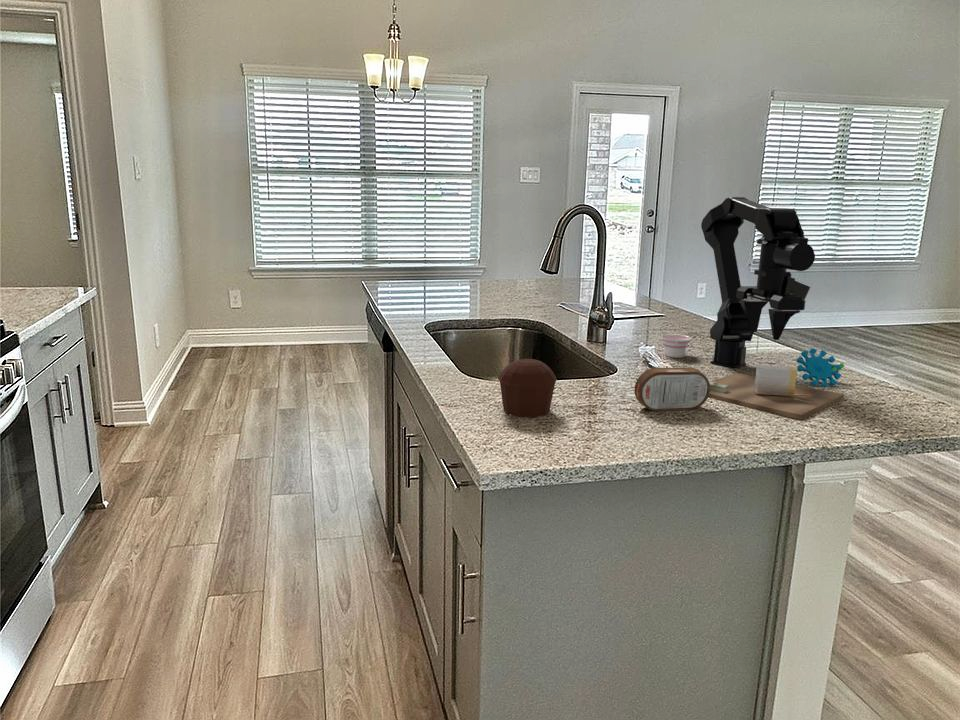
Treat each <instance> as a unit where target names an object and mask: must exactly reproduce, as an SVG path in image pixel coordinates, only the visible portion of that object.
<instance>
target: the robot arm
mask: <svg viewBox="0 0 960 720" xmlns="http://www.w3.org/2000/svg"><path fill="white" fill-rule="evenodd" d="M745 221H747V222H749V223H751V224H754V228H755V229H756V231H758V232H759V233H760V234H761V235H762V236H761V237H760V238H758V239H757V241H756V244H757V245H761V246H760V251H759V252H760V253H759V263H758V269H754V272H753V273H754V275H756V276H757V281H756V285H755V286H754V285H753V286H752V285H746V286H744V285H743V286H742V285H741V278H740V273H739V267H738V261H737V254H736V251H735V250H736V249H735V242H736V240H737V238H738V235H739V234H740V233H739V232H740V231H739V229H740V228H741V226H742V225H743V224H744V223H745ZM700 227H701V231H702V233H703V234H702V235H703V237H704V240H705V242H706V243H707V244H708V245H709V247H711V248H712V250H713V255H714V262H715V267H716V274H717V280H718V286H719V293H720V297H721V304H720V307H719V308H718V309H719V310H718V312H717V313H716V316H717V318H716V319H717V320H716V321H715V322H714V323H713V325H712V326H711V328H710V329H709V337H710V340H711V339H712V340H713V341H715V343H714V354H713V360H710V361H709V362H710V363H709V364H713V365H717V366H721V367H728V368H732V369H733V368H734V369H735V368H738V367H741V366H744V365H743V364H745V365H746V364H747V363H746V355H747V347H746V342H752V339H753V336H754V333H756V332H758V328H759V325H760V320H761V315H762V310H763V309H764V308H765V306H766V305H767V304H768V303H769V307H770V308H768V315H769V323H770V329H771V333H772V335H771V336H772V339H773V341H774V340H775V341H779V340H780V338H781V336H782V334H783V332H784V330H785V328H786V326H787V324H788V322H789V320H790V319H791V318H792V317H794V316H795V315H796V314H800V313H801V311H805V309H806V300H805V299H806V298H807V296H808V294H809V292H810V289H811V286H808V285H806V284H804V283H802V282H800V281H796V279H795V278H794V277H792V273H791V272H790V271H791V270H792V271H797V272H803V271H807V270H809V269H810V268H811V267H812V265H813V264H814V263H815V259H816V253H815V250H814V248H813V247H812V245H810V244H809V238H808V237H805V235H804V234H805V232H804V230H803V228H802V224H801V222H800V218H799V216H798V215H797V211H796V210H795V209H794V208H788V207H787V208H784V207H783V208H782V207H781V208H780V207H778V208H777V207H769V206H766V205H763V204H760V203H759V202H755V201H753V200H750V199H748V198H746V197H744V196H743V197H741V196H739V197H738V196H729V197H726V198H725V199H724V200H723V201H722V203H720V204H718V205H716V206H715V207H713V208H712V209H710V210H709V211H708V212H707V213H706V214H705V216H704V217H703V218H702V221H701V226H700ZM787 270H790V271H787Z"/></svg>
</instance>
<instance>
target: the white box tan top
mask: <svg viewBox="0 0 960 720" xmlns="http://www.w3.org/2000/svg"><path fill="white" fill-rule="evenodd" d="M797 375H798V371H797V368H796V367H794V366H781V365H780V366H779V365H777V366H776V365H762V364H761V365H760V364H756V370H755V376H756V377H755V386H754V391H755V392H756V393H757V394H766V395H782V396H793V397H794V392H795V385H797V383H796V382H797Z"/></svg>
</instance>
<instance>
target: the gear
mask: <svg viewBox="0 0 960 720" xmlns="http://www.w3.org/2000/svg"><path fill="white" fill-rule="evenodd" d="M816 353H817V349H816V348H810V349H809V351H808V350H803V351H802V352H800V355H801V356H799V357H798V358H797V359H796V363H799V364H798V366H797V368H796V370H797V372H798V373H799V372H805V373H803V374H802V375H801V378H802V379H803V380H804V381H807V380H809V379H808V378H811V379H812V378H814V379H813V380H811V382H810V385H811V386H813V385H814V386H813V387H817V385H818V384H819V381H822V383H820V386H821V387H822V386H826V387H825V388H828V387H829V386H831V385H834V386H835V385H837V383H838V380H839V379H840V378H841V377H842V374H841V373H839V371H841V370H842V369H843V368H844V367H845V364H844V363H839V364H832V363H834V362H835V361H836V358H835V357H834V356H832V355H831V356H830V357H828V358H823V357H825V356H827V351H825V350H823V349H822V350H820V351H819V353H818V354H819V355H818V356H816V355H815V354H816ZM808 354H809V355H810V356H809V355H808ZM828 380H829V384H828Z"/></svg>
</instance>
